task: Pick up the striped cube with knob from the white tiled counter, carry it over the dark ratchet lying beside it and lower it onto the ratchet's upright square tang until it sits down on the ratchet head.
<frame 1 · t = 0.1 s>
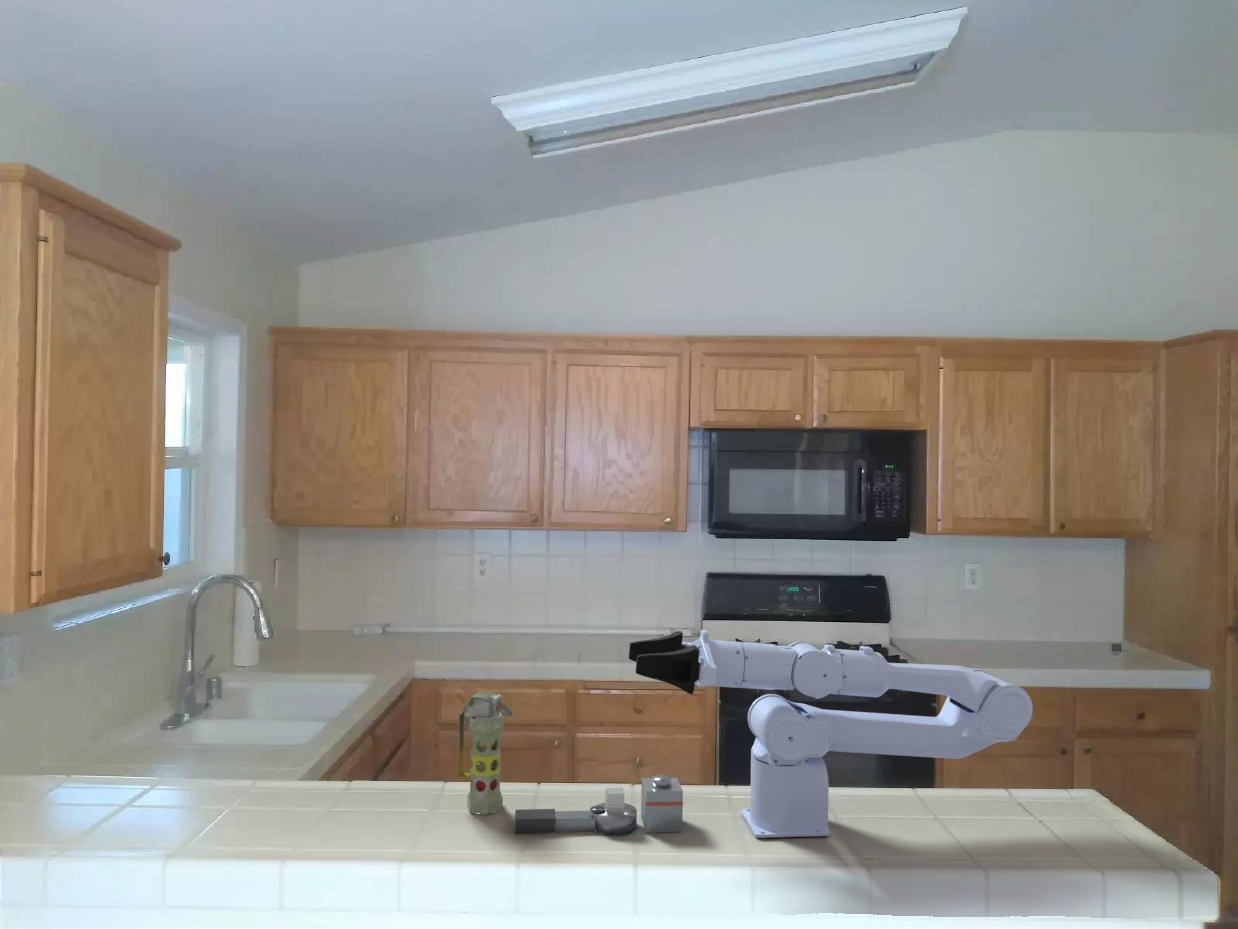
hand: (632, 657, 108), 22 cm above the counter, tool horizontal, fingers open, 7 cm apart
grenade: (482, 806, 115), on the counter
ratchet: (614, 826, 109), on the counter
striped cube with knob: (661, 825, 110), on the counter
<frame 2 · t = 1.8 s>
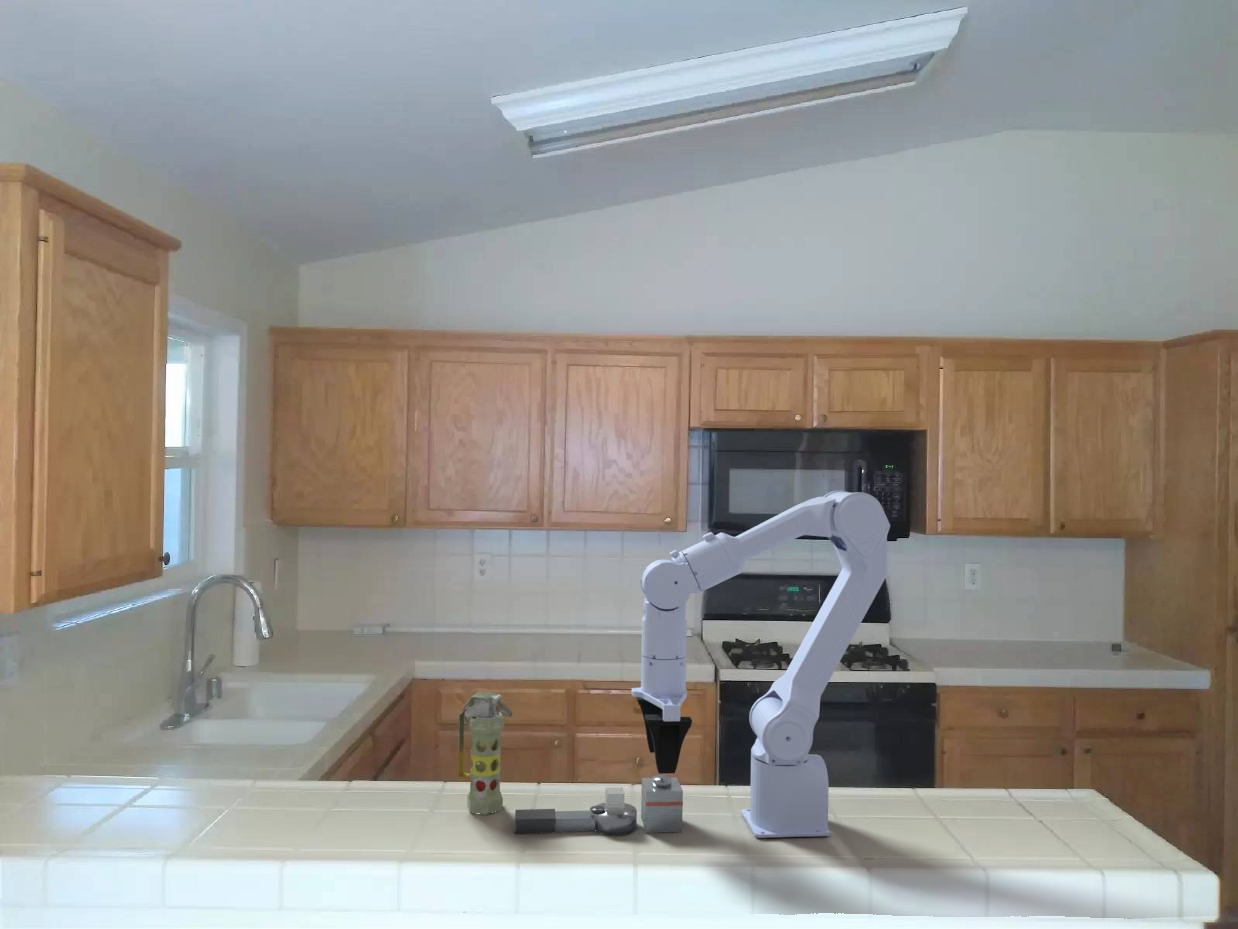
hand: (661, 762, 110), 8 cm above the counter, tool pointing down, fingers open, 7 cm apart
nothing on the counter moved.
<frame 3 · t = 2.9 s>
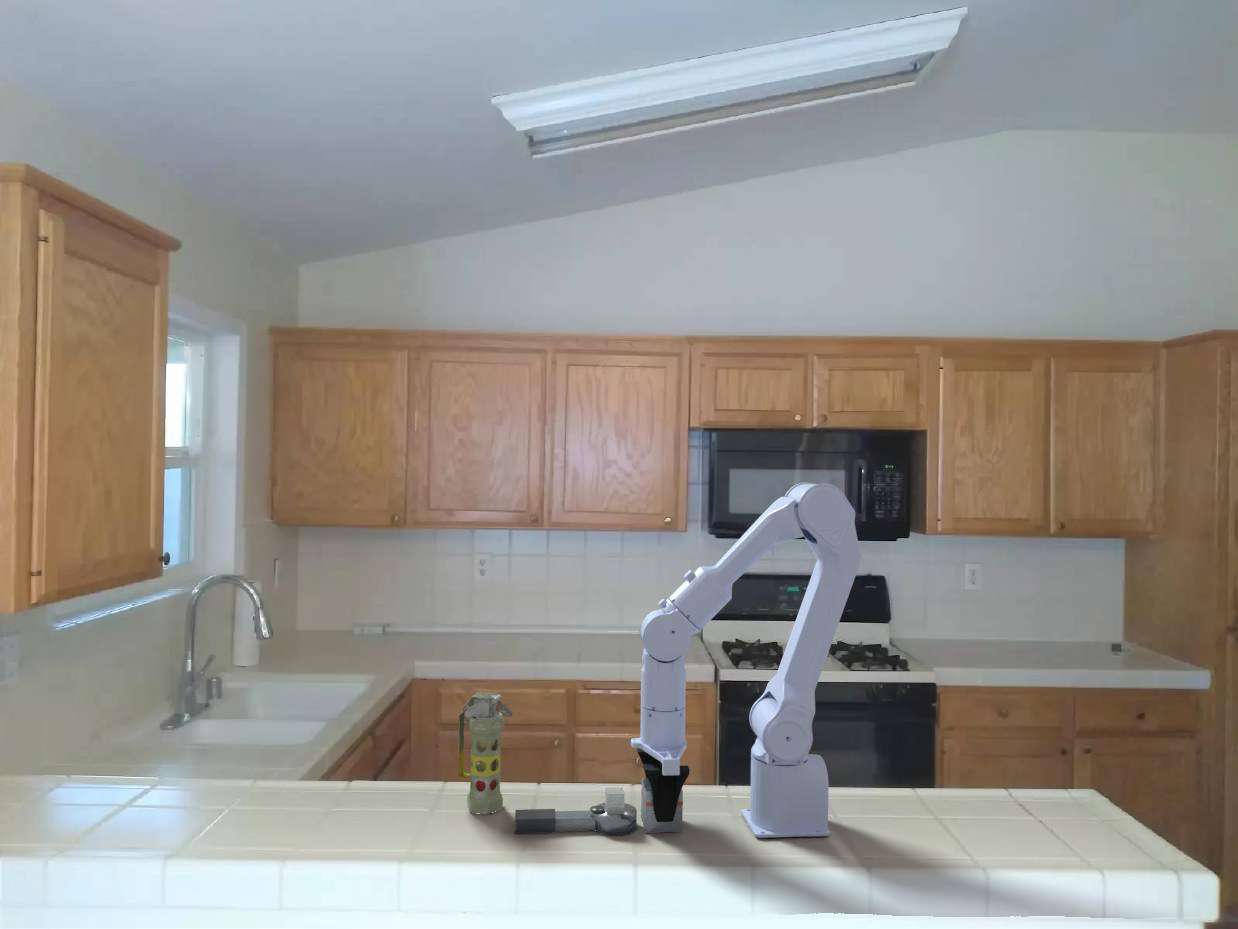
hand: (661, 812, 110), 2 cm above the counter, tool pointing down, fingers closed on striped cube with knob, 5 cm apart
striped cube with knob: (661, 825, 110), on the counter, touching gripper
everything else where it was.
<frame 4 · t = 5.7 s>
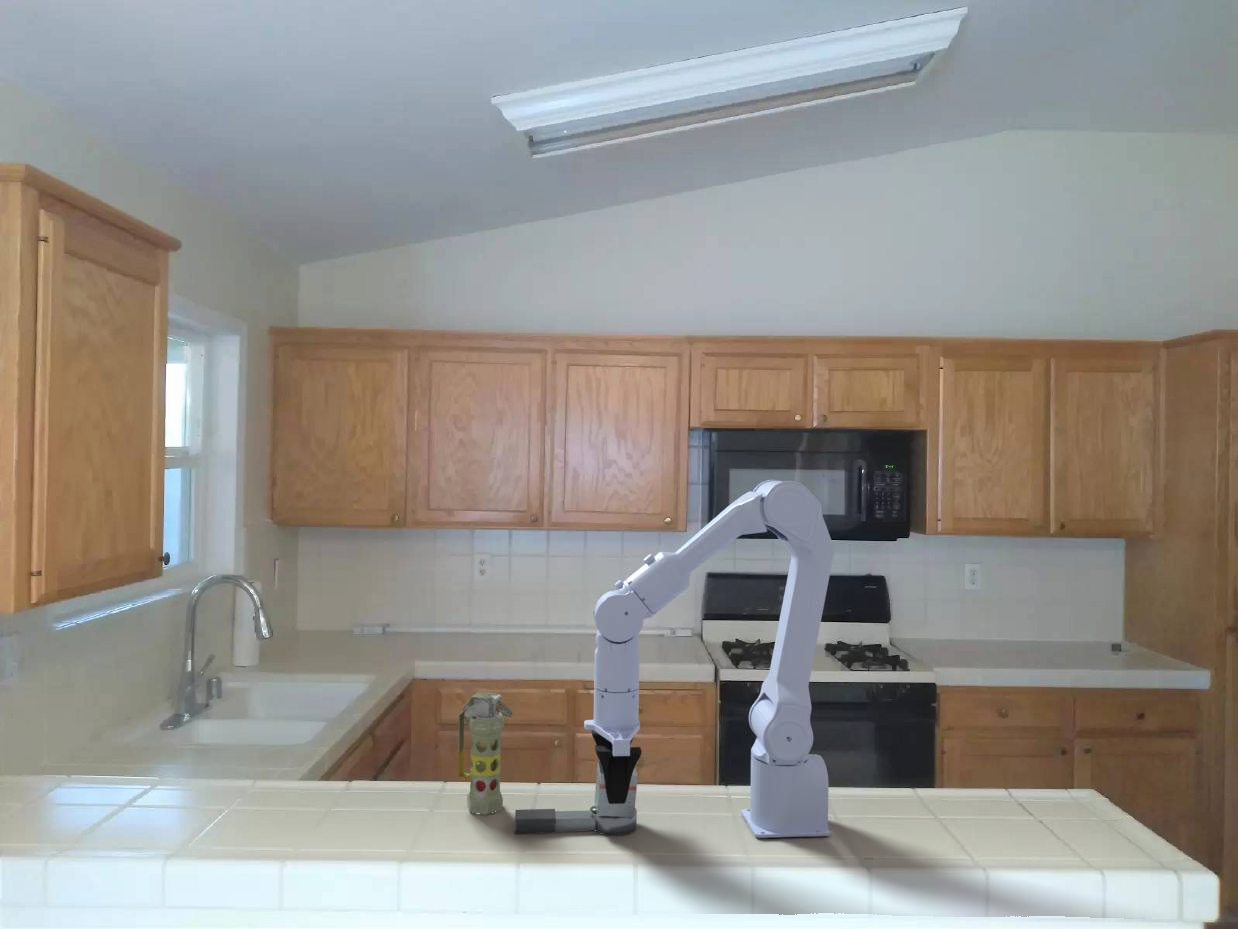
hand: (614, 794, 109), 4 cm above the counter, tool pointing down, fingers closed on striped cube with knob, 5 cm apart
striped cube with knob: (613, 809, 109), point 2 cm above the counter, touching gripper, ratchet
everything else where it was.
when the fingers open (4 cm above the counter, at t = 5.7 s): striped cube with knob stays where it is, resting on ratchet.
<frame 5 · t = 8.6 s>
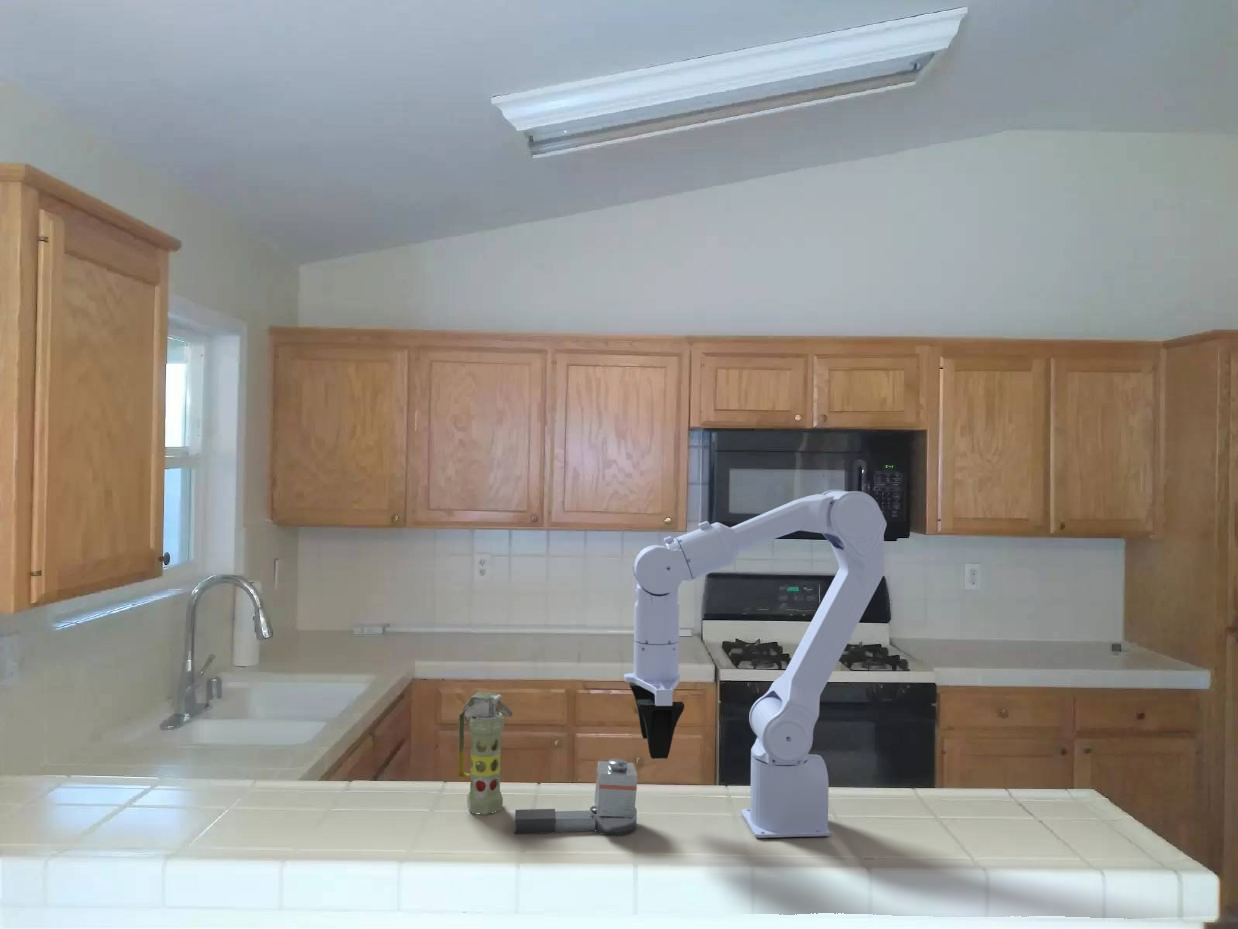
hand: (654, 747, 110), 10 cm above the counter, tool pointing down, fingers open, 7 cm apart
striped cube with knob: (613, 809, 109), point 2 cm above the counter, touching ratchet
everything else where it was.
at the end: striped cube with knob 0.1 cm off-centre on the ratchet, point 2.2 cm above the ratchet's base; striped cube with knob tilted 4°; the gripper is holding nothing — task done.
